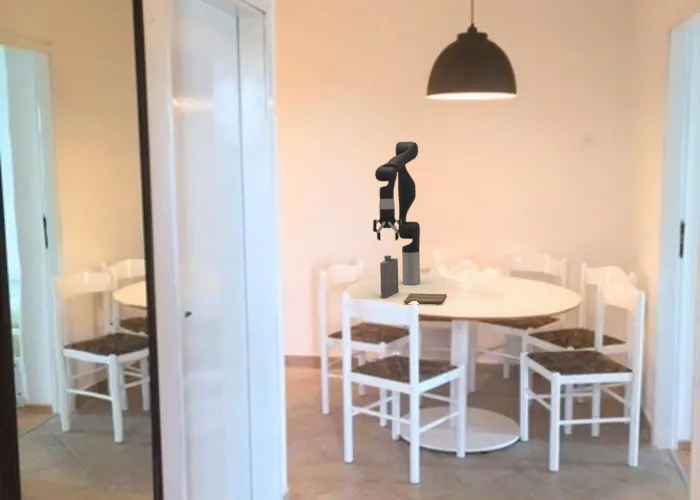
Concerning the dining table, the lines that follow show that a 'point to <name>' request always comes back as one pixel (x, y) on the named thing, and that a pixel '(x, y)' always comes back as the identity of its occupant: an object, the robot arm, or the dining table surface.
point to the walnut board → (426, 298)
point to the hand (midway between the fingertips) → (387, 240)
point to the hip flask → (389, 277)
